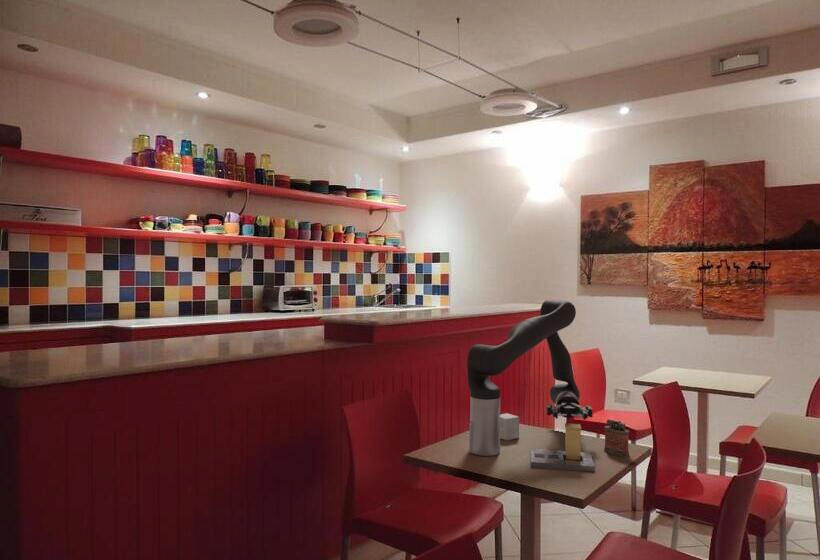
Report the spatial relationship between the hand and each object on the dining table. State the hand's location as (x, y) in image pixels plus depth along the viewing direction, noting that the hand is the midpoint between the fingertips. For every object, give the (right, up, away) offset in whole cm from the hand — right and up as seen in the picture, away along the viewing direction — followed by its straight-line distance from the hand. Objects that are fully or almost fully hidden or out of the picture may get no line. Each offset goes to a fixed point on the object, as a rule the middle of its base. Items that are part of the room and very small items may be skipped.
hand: (570, 416), depth 179 cm
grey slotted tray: (-6, -11, -12) cm, 17 cm away
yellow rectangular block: (-3, -11, -12) cm, 17 cm away
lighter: (+13, -11, -2) cm, 18 cm away
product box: (-18, -11, +14) cm, 25 cm away
